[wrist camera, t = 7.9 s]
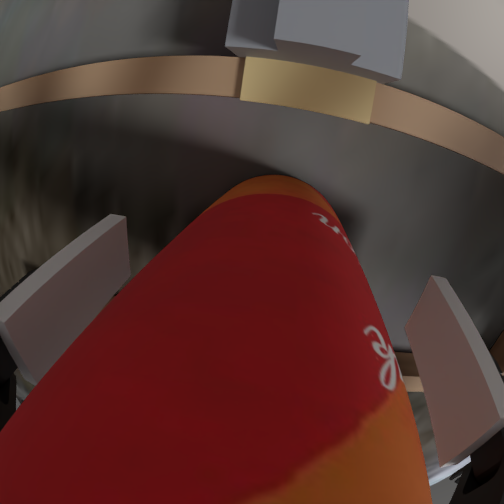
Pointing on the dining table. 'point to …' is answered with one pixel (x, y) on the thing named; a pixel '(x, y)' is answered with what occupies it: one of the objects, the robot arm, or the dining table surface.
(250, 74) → the brown piece
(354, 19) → the block
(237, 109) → the dining table surface
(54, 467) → the coffee cup
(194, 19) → the dining table surface
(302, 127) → the dining table surface
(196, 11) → the dining table surface
